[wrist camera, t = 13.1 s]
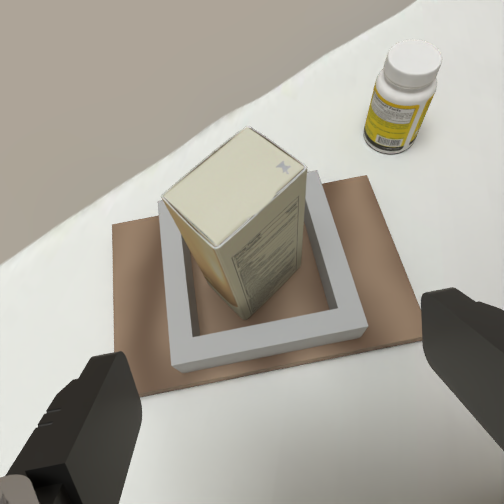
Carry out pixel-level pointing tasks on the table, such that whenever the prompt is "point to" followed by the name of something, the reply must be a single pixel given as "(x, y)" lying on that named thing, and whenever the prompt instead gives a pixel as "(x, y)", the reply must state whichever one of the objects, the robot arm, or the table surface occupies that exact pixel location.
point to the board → (275, 308)
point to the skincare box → (243, 218)
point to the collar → (271, 333)
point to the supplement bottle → (402, 95)
